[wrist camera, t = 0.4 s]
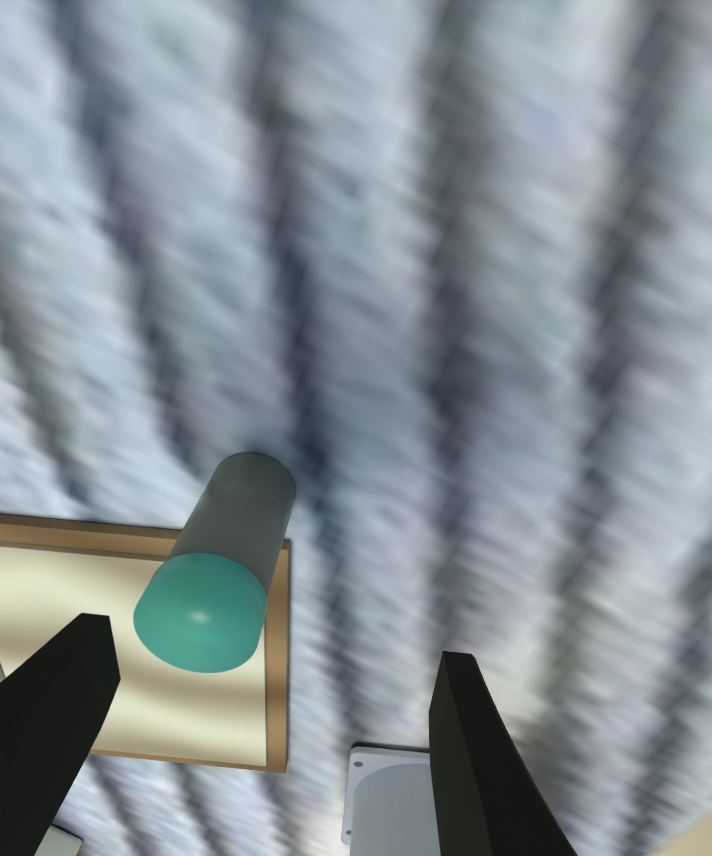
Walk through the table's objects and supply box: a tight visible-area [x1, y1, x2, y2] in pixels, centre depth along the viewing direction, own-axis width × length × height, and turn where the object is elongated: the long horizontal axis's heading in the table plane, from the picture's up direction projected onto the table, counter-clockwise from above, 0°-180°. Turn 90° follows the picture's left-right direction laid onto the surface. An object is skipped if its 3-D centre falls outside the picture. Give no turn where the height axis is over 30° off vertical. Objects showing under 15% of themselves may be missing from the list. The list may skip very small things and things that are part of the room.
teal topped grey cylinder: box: [133, 452, 296, 673], centre depth 18 cm, size 4×4×7 cm
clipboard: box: [0, 514, 290, 773], centre depth 26 cm, size 16×20×1 cm
